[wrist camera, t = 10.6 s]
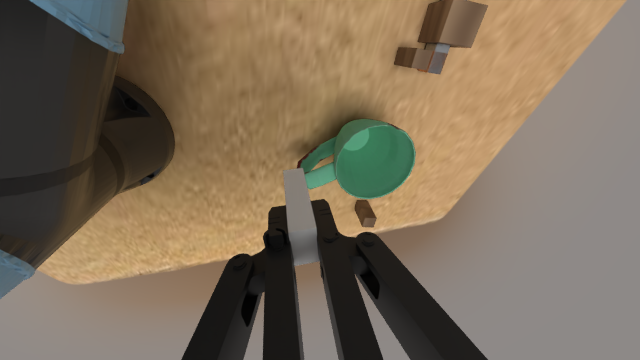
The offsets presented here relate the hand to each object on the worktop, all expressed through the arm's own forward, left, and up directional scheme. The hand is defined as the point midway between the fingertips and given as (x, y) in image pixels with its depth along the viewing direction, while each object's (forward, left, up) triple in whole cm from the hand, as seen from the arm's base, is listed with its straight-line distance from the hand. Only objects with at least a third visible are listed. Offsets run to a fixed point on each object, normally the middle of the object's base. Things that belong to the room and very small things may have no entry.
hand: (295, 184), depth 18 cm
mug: (+8, -3, -18) cm, 20 cm away
